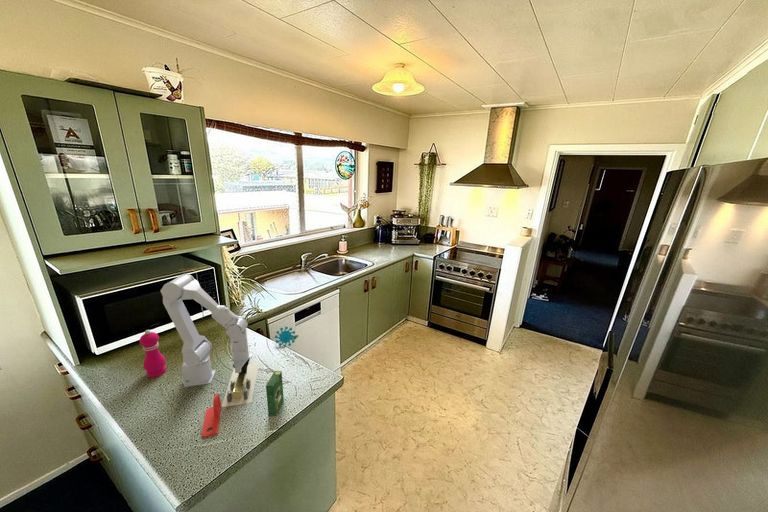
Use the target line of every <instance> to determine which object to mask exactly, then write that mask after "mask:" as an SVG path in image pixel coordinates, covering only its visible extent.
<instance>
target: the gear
mask: <svg viewBox="0 0 768 512" xmlns="http://www.w3.org/2000/svg"><path fill="white" fill-rule="evenodd" d="M283 329H284V330H283ZM279 330H280V331H279ZM279 330H277V331H276V334H277V335H274V339H276V340H275V343H276V344H278V346H279V347H281V346H282V345H283V346H282V347H283V348H286V347H287V346H288V347H291V346H292V344H294V343H295V342H296V341H295V340H296V339H297V338H298V337H299V334H296V330H293V327H290V328H289V329H288V326H285V327H284V328H283V327H280V328H279ZM292 334H293V335H292ZM295 334H296V335H295ZM287 343H288V344H287ZM291 343H292V344H291Z"/></svg>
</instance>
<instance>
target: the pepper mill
mask: <svg viewBox="0 0 768 512" xmlns="http://www.w3.org/2000/svg"><path fill="white" fill-rule="evenodd" d="M159 340H160V336H159V334H158V333H156V332H153V331H151V329H145V331H144V334H142V335H141V336H140V337H139V344H140V345H141V346H142V350H143V351H145V358H144V360H143V369H144V371H146V374H147V377H149V378H156V377H159V376H162V375H163V374H165V373H166V371H167V367H166V364H167V363H166V362H167V361H166V360H167V359H166V358H165V356H164V355H163V354H162V353H161V352H160V350H159V346H160V345H159Z"/></svg>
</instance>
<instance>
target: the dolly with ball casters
mask: <svg viewBox="0 0 768 512" xmlns="http://www.w3.org/2000/svg"><path fill="white" fill-rule="evenodd" d="M229 382H230V381H229ZM230 383H231V384H230V389H231V391H228V392H227V402H231V400H232V397H233V396H232V391H233V390H234V387H235V381H231V382H230ZM250 386H251V380H250V379H249V378H248V379H246V389H244V394H243V395H244V400H246V399H248V395H249V393H248V389H250Z"/></svg>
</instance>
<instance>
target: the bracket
mask: <svg viewBox="0 0 768 512" xmlns="http://www.w3.org/2000/svg"><path fill="white" fill-rule="evenodd" d="M212 402H213V405H212V406H213V407H212V406H211V407H207V408H206V412H205V414H204V415H205V416H204V421H203V427H202V430H201V431H202V432H201V437H202V438H207V437H208V438H209V437H212V436H215V435H218V434H219V425H220V421H221V420H220V419H221V413H222V402H221V395H220V394H219V393H218V394H214V396H213V401H212ZM211 429H212V430H211Z"/></svg>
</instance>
